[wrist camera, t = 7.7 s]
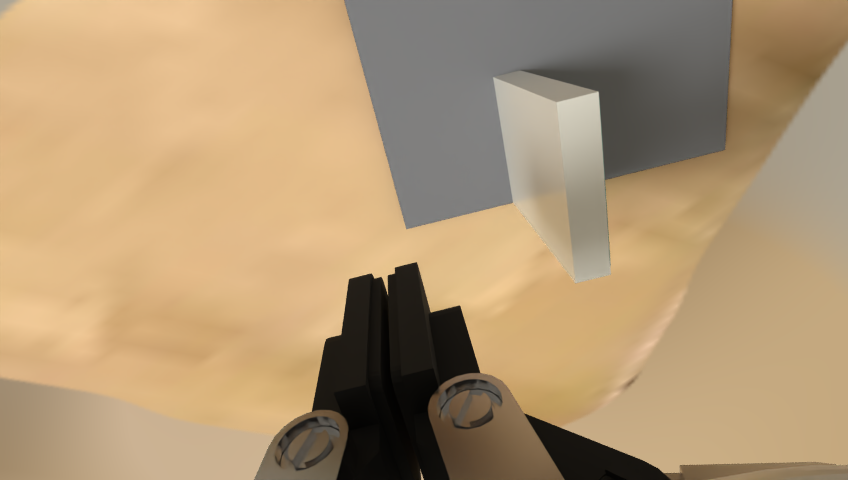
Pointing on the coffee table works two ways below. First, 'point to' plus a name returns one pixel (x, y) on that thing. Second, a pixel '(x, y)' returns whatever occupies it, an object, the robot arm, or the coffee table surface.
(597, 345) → the coffee table surface
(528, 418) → the robot arm
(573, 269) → the tile
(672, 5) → the mat
